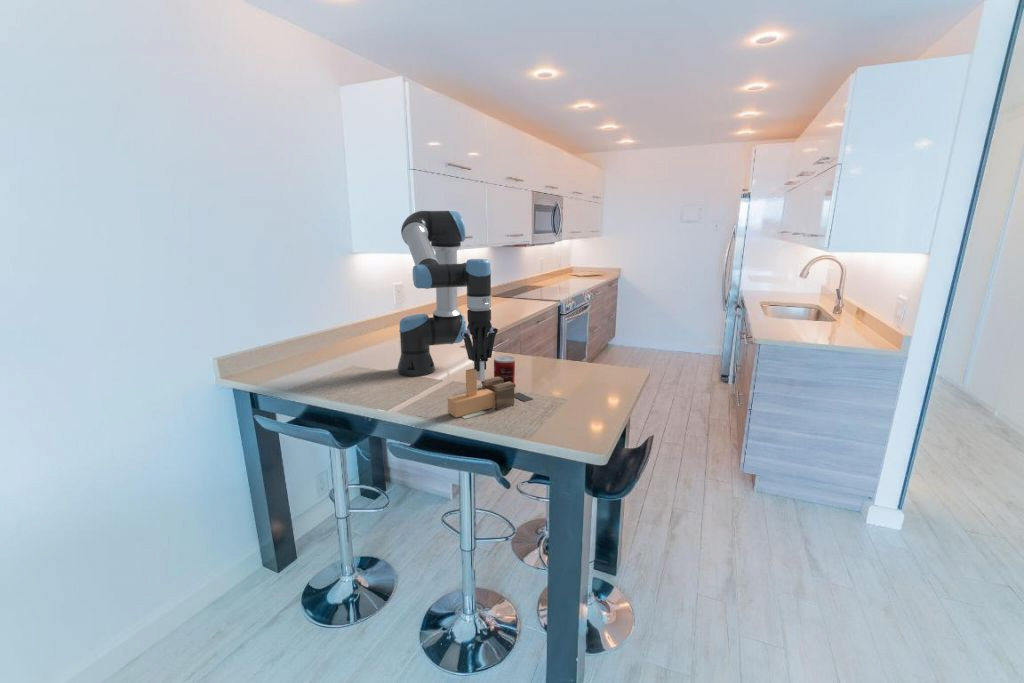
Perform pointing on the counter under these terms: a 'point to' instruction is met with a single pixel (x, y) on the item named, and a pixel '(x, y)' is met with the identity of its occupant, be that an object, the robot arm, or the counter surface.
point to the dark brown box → (500, 391)
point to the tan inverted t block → (471, 398)
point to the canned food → (505, 368)
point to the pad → (473, 414)
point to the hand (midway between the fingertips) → (480, 379)
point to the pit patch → (522, 397)
